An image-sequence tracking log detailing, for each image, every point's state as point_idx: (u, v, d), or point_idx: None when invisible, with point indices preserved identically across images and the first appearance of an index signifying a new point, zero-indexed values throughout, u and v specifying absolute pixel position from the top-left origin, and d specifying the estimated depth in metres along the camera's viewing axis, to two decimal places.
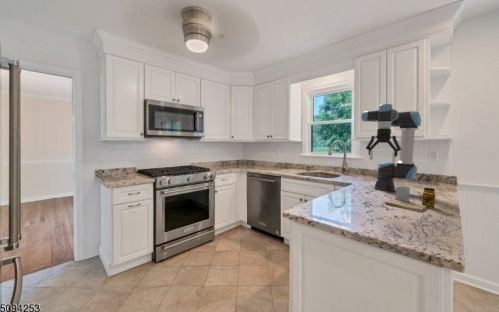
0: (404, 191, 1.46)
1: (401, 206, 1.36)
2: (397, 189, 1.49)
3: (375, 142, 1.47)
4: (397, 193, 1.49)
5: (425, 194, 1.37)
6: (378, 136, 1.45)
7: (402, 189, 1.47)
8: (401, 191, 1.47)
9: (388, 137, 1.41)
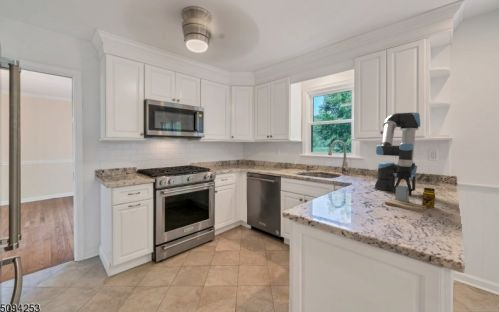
0: (404, 191, 1.46)
1: (401, 206, 1.36)
2: (397, 189, 1.49)
3: (398, 180, 1.51)
4: (397, 193, 1.49)
5: (425, 194, 1.37)
6: (398, 172, 1.51)
7: (402, 189, 1.47)
8: (401, 191, 1.47)
9: (409, 175, 1.46)
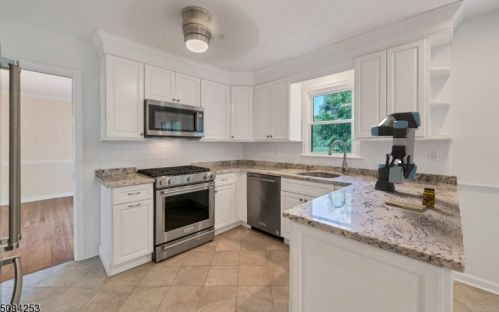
0: (398, 171, 1.38)
1: (401, 206, 1.36)
2: (391, 170, 1.41)
3: (392, 160, 1.43)
4: (391, 174, 1.41)
5: (425, 194, 1.37)
6: (392, 152, 1.43)
7: (396, 169, 1.39)
8: (395, 171, 1.40)
9: (403, 154, 1.39)
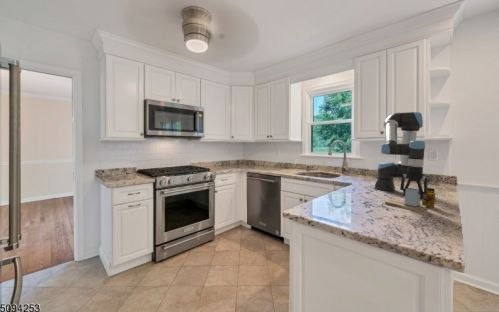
0: (415, 193, 1.32)
1: (401, 206, 1.36)
2: (407, 191, 1.35)
3: (407, 182, 1.37)
4: (407, 196, 1.35)
5: (425, 194, 1.37)
6: (408, 173, 1.36)
7: (413, 191, 1.32)
8: (412, 193, 1.33)
9: (420, 176, 1.32)
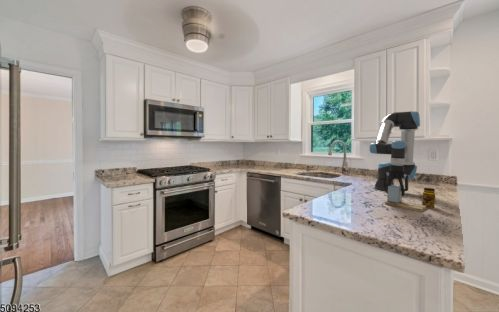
0: (396, 190, 1.39)
1: (401, 206, 1.36)
2: (389, 188, 1.42)
3: (390, 179, 1.44)
4: (389, 193, 1.42)
5: (425, 194, 1.37)
6: (391, 172, 1.44)
7: (394, 188, 1.40)
8: (393, 191, 1.40)
9: (401, 174, 1.39)
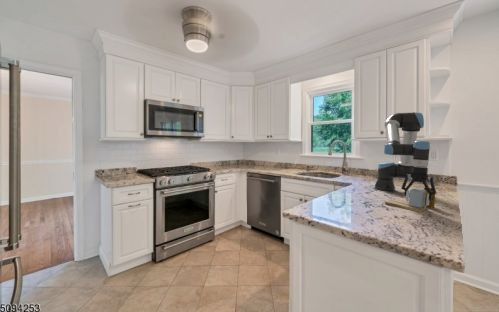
0: (420, 195, 1.30)
1: (401, 206, 1.36)
2: (411, 192, 1.33)
3: (411, 182, 1.35)
4: (411, 197, 1.33)
5: None
6: (413, 174, 1.35)
7: (417, 192, 1.31)
8: (416, 195, 1.31)
9: (425, 177, 1.30)
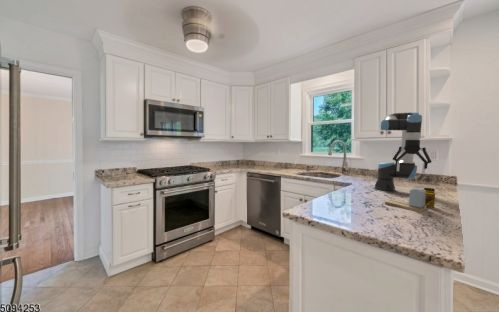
0: (420, 195, 1.30)
1: (401, 206, 1.36)
2: (411, 192, 1.33)
3: (403, 153, 1.43)
4: (411, 197, 1.33)
5: None
6: (406, 147, 1.41)
7: (417, 192, 1.31)
8: (416, 195, 1.31)
9: (417, 149, 1.37)
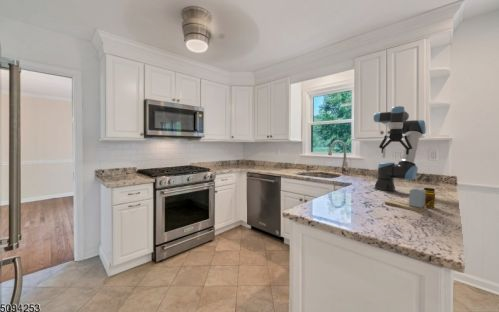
0: (420, 195, 1.30)
1: (401, 206, 1.36)
2: (411, 192, 1.33)
3: (388, 141, 1.60)
4: (411, 197, 1.33)
5: None
6: (391, 136, 1.58)
7: (417, 192, 1.31)
8: (416, 195, 1.31)
9: (400, 137, 1.54)
